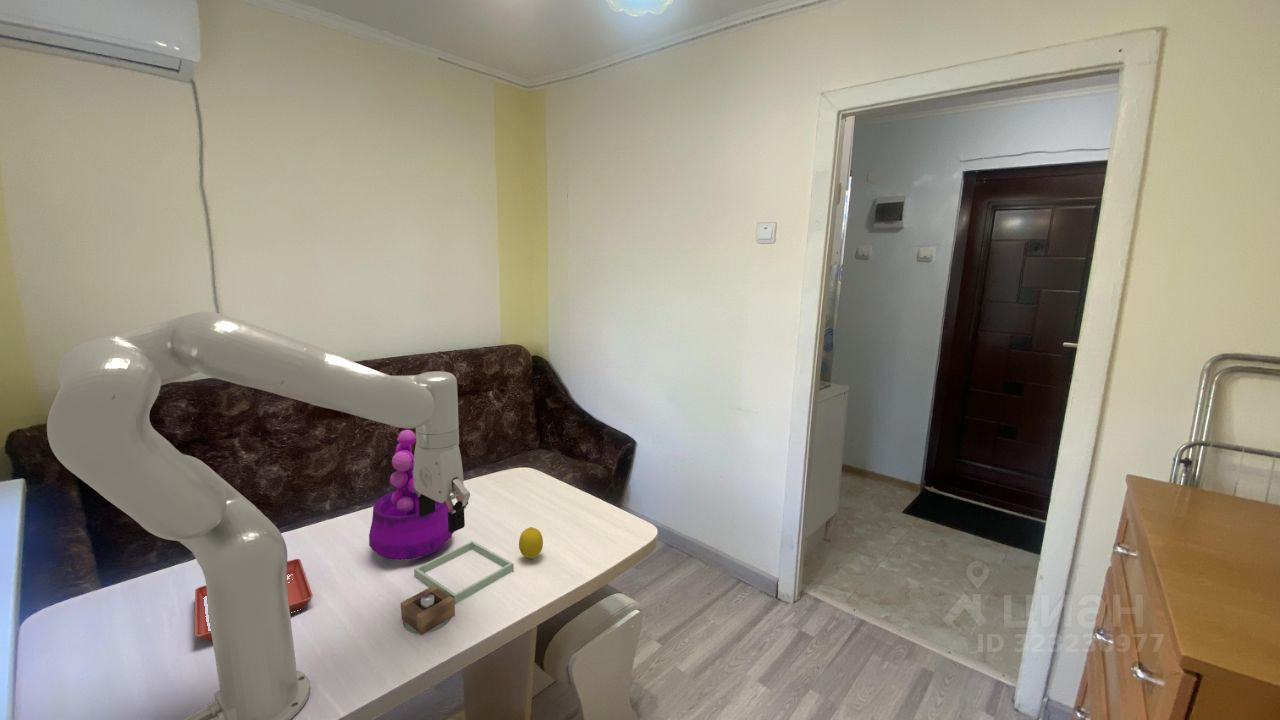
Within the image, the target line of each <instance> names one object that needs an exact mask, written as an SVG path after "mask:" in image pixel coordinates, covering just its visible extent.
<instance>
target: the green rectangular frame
mask: <svg viewBox="0 0 1280 720" xmlns="http://www.w3.org/2000/svg"><path fill="white" fill-rule="evenodd" d="M472 550H473V551H474V552H476V553H478V554H479V555H481V556H483V557H485V558H487V559H488V560H490V561H492V562H494V563H496V564H498V565H499V566H500V568H498V569H497V570H496V571H494V572H491V573H490V574H488V575H487V576H484V577H483V578H481V579H480V580H478V581H476V582H474V583H473V584H470V585H469V586H467V587H465V588H463V589H461V590H460V591H457V592H456V593H455V592H454V591H452V590H450V588H447V587H446V586H444V585H443V584H441V582H439V581H437V580H436V579H434V578H433V577H431V576H429V575H428V574H427V573H428V572H430V571H431V570H433V569H435V568H437V567H440V566H441V565H443V564H445V563H448V562H450V561H451V560H455V558H457V557H460V556H462V555H464V554H466V553H468V552H469V551H472ZM514 568H515V567H514V563H513V562H512V561H510V560H508V559H506V558H504V557H503V556H501V555H500V554H497V553H495V552H494V551H492V550H490V549H488V548H487V547H484V546H483V545H481V544H479V543H478V542H475V541H473V540H471V541H469V542H467V543H465V544H463V545H461V546H459V547H456V548H455V549H453V550H450V551H449V552H448V551H447V553H444V554H442V555H440V556H438V557H436V558H434V559H432V560H430V561H428V562H426V563H424V564H421V565H419V566H417V567H415V568H414V569H413V574H414V577H415V578H416V579H418V580H419V581H421V582H422V583H424V584H425V585H426V586H428V588H430V587H432V586H435V587H437V588H438V589H440V590H441V591H443V592H444V593H446V594H447V595H449V596H450V597H451V598H453V599H454V604H455V605H456V604H457V603H460V602H462V601H463V600H464V599H467V598H468V597H470V596H472V595H473V594H475V593H477V592H478V591H480V590H482V589H483V588H486V587H487V586H489V585H491V584H493V583H494V582H496V581H498V580H500V579H502V578H503V577H504V576H507V575H508V574H510V573H514Z"/></svg>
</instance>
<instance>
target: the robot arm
mask: <svg viewBox="0 0 1280 720" xmlns="http://www.w3.org/2000/svg"><path fill="white" fill-rule="evenodd" d="M198 373H199V374H202V375H204V376H208V377H210V378H213V379H217V380H221V381H225V382H228V383H232V384H235V385H241V386H243V387H249V388H252V389H257V390H260V391H264V392H268V393H272V394H276V395H279V396H280V397H281V396H282V397H285V398H289V399H293V400H297V401H300V402H303V403H307V404H310V405H313V406H316V407H320V408H324V409H330V410H333V411H338V412H341V413H345V414H348V415H353V416H356V417H358V418H359V417H360V418H362V419H365V420H366V419H367V420H370V421H373V422H376V423H382V424H385V425H388V426H393V427H397V428H399V429H400V428H401V429H404V430H411V429H412V430H413V429H415V436H416V440H415V443H416V444H415V448H414V454H413V456H414V464H413V467H414V470H413V471H412V474H413V477H414V488H415V490H416V491H417V492H416V493H417V496H418V497H419V498H418V503H419V516H421V517H423V516H425V515H428V514H430V513H433V512H435V501H437V502H439V503H443V502H446V504H447V506H448V508H449V511H450V512H448V531H449V532H450V533H452V532H454V533H455V532H456V531H459V530H461V529H463V528H465V525H466V523H465V521H466V520H465V509H467V505H468V504H469V500H470V497H471V493H470V491H469V490H468V489H467V487H466V486H465V485H464V471H463V462H462V455H461V450H460V446H459V445H460V430H459V429H460V427H459V426H460V424H459V405H458V403H459V402H458V401H459V397H458V381H457V380H458V379H457V378H456V376H455V375H454V374H453V373H451V372H448V371H439V370H438V371H435V370H434V371H427V372H422V373H419V374H415V375H413V374H412V375H411V374H410V375H390V374H388V373H384V372H382V371H379V370H376V369H373V368H371V367H368V366H365V365H363V364H360V363H357V362H355V361H353V360H351V359H348V358H347V357H344V356H342V355H340V354H338V353H335V352H332V351H330V350H328V349H324V348H322V347H320V346H316V345H313V344H310V343H308V342H305V341H302V340H299V339H296V338H294V337H289V336H287V335H284V334H282V333H278V332H275V331H272V330H270V329H267V328H264V327H261V326H258V325H256V324H252V323H250V322H247V321H243V320H240V319H239V318H234V317H231V316H228V315H225V314H222V313H219V312H214V311H199V312H195V313H190V314H185V315H181V316H178V317H174V318H171V319H168V320H163V321H159V322H156V323H153V324H149V325H145V326H141V327H139V328H134V329H130V330H126V331H122V332H118V333H114V334H110V335H106V336H103V337H99V338H95V339H92V340H89V341H86V342H84V343H81V344H80V345H77V346H76V347H74V348H72V349H71V350H70V351H69V352H67V353H66V354H65V356H64V357H63V358H62V359H61V361H60V363H59V365H58V369H57V378H58V383H59V385H60V387H59V389H58V391H57V394H56V396H55V398H54V400H53V403H52V404H51V407H50V409H49V413H48V416H47V421H46V432H47V434H46V435H47V440H48V443H49V447H50V449H51V451H52V453H53V454H54V456H55V457H56V459H57V460H58V461H59V463H61V464H62V465H63V466H64V467H65V468H66V469H67V470H68V471H69V472H70V473H72V474H73V475H75V476H76V477H77V478H78V479H80V480H81V481H82V482H84V483H85V484H86V485H88V486H89V487H90V488H92V489H93V490H94V491H96V492H97V493H98V494H99V495H100V496H101V497H103V499H105V500H107V501H108V502H110V503H111V504H112V505H114V506H115V507H116V508H117V509H119V510H120V511H122V512H123V513H125V514H126V515H128V516H129V517H130V518H131V519H133V520H134V521H135V522H136V523H138V524H139V526H141V528H142V529H144V530H146V531H147V532H148V533H149V534H152V535H153V536H156V537H157V538H161V539H164V540H168V541H169V540H170V541H177V542H178V543H180V544H181V545H183V546H184V547H186V548H187V549H188V550H190V552H191V553H192V554H193V557H195V560H196V561H197V563H198V565H199V566H200V568H201V570H202V574H203V576H204V581H205V584H206V587H207V604H208V615H209V623H210V629H211V634H212V640H211V641H212V646H213V652H214V660H215V666H216V672H217V674H216V675H217V680H218V686H219V690H217V691H215V692H214V693H213V694H214V696H213V697H214V700H213V701H211V702H209V703H207V704H206V705H207V707H205V708H203V709H201V710H199V711H197V712H194V713H192V714H191V715H189V716H187V717H185V718H183V719H182V720H291V719H292V718H294V717H295V716H296V715H297V714H298V713H299V712H300V711H301V709H302V708H303V707H304V706H305V705H306V703H307V702H308V700H309V697H310V693H311V682H310V681H311V680H310V679H309V677H308V676H307V674H305V673H303V672H302V671H300V670H297V662H296V655H295V646H294V645H295V644H294V638H293V637H294V635H293V629H292V628H293V627H292V620H291V619H292V618H291V614H290V609H289V602H288V593H287V561H288V547H287V544H286V542H285V538H284V536H283V535H282V532H281V531H280V530H279V529H278V527H277V526H276V525H275V524H274V523H273V522H272V521H271V520H270V519H269V518H268V517H267V516H265V514H263V512H262V511H261V510H260V509H259V508H258V507H257V506H256V505H254V504H253V503H252V502H251V501H250V500H248V499H247V498H246V497H245V496H244V495H242V494H241V493H240V492H239V491H238V490H237V489H235V488H234V487H233V486H232V485H231V484H230V483H228V482H227V481H226V480H225V479H224V478H222V477H221V476H220V475H219V474H218V473H217V472H215V470H213V469H212V468H211V467H210V466H209V465H207V464H206V463H204V462H203V461H202V460H201V459H199V458H197V457H194V456H192V455H188V454H184V453H182V452H180V451H179V450H178V449H177V448H176V447H175V446H174V445H173V444H172V443H171V442H170V441H169V440H167V439H166V438H165V437H164V436H163V435H161V434H160V433H159V432H158V431H157V430H155V428H154V427H153V426H152V423H151V421H150V412H151V409H152V407H153V405H154V404H155V402H156V400H157V398H158V396H159V393H160V391H161V386H164V385H167V384H170V383H173V382H175V381H179V380H181V379H186V378H188V377H190V376H193V375H196V374H198ZM451 494H452V495H451ZM455 499H456V503H455V504H454V502H453V500H455Z"/></svg>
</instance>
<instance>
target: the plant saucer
mask: <svg viewBox="0 0 1280 720" xmlns="http://www.w3.org/2000/svg"><path fill="white" fill-rule="evenodd" d="M304 569H305V568H304V567H303V564H302V560H301V559H300V558H293V559H291V560H287V575H288V574H289V575H291V574H293V575H291V576H290V577H289V578H290V579H288V580H287V593H288V602H289V609H290V613H291V612H294V611H297V610H300V609H301V610H303V609H304V608H305V607H306V606H307V605H308V604H309V603H310V601H311V600H312V599H313V597H314V594H313V591H312V590H311V587H310V586H311V585H310V584H309V581H308V577H307V574H306V572H305V570H304ZM289 575H288V576H289ZM292 579H293V580H292ZM288 582H290V583H288ZM205 596H207V587H206V585H203V586H199V587H198V588H195V590H194V606H195V607H194V609H195V611H194V621H195V622H194V623H195V624H194V626H195V627H194V630H195V632H194V636H195V637H197V638H199V639H201V640H206V641H212V634H211V631H208V626H207V622H206V617H205V616H206V614H205V606H204V599H203V598H204V597H205ZM301 610H300V611H301ZM297 612H298V611H297ZM294 613H295V612H294ZM291 614H292V613H291Z"/></svg>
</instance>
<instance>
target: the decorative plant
mask: <svg viewBox="0 0 1280 720" xmlns="http://www.w3.org/2000/svg"><path fill="white" fill-rule="evenodd" d="M396 439H397V442H398V444H397V445H396V448H395V453H394V455H393V456H392V459H391V464H392V466H393V469H395V470H396V471H394V472H392V474H390V478H389V483H390V485H392V486H393V487H394V488H395V489H396V490H394V491H391V492H389V493H386V494H384V495H383V496H381V497H380V498H379V499H377V500H376V501H375V502H374V505H373V506H372V507H373V508H372V519H371V525H370V529H369V533H368V545H369V547H370V549H371V550H372V552H374V553H375V554H376V555H378V556H380V557H382V558H384V559H386V560H393V561H408V560H409V561H410V560H415V559H419V558H423V557H427V556H428V555H431V554H433V553H435V552H437V551H439V549H442V547H444V546H445V545H446V544H447V543H448V541H449V540H450V539H451V538H452V536H453V534H454V533H455V532H452V533H450V532H449V531H448V512H450V511H449V508H448V506H447V504H446V502H443V503H439V502H437V501H435V512H433V513H430V514H428V515H425V516H423V517H421V516H419V503H418V498H419V497H418V496H417V493H416V492H417V491H416V490H415V488H414V477H413V474H412V471H413V470H414V454H413V453H412V451H413V447H412V445H414V443H416V433H415V432H414V431H412V430H411V429H404V430H401V431H400V432H399V433H398V437H397V438H396Z"/></svg>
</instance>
